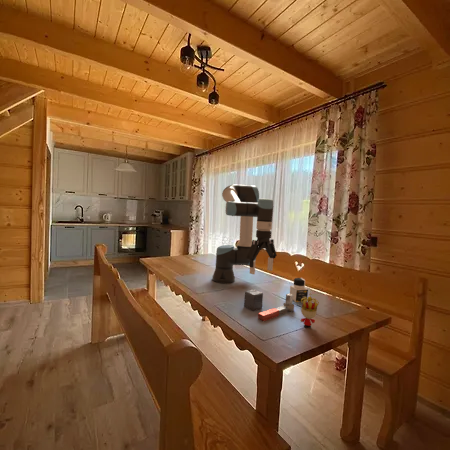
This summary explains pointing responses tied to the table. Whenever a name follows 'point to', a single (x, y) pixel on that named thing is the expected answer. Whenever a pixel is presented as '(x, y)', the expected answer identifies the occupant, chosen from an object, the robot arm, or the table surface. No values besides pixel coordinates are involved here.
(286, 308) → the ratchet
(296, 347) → the table surface
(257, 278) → the table surface
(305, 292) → the medicine bottle
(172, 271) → the table surface
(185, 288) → the table surface
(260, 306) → the dark wooden cube
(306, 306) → the toy
